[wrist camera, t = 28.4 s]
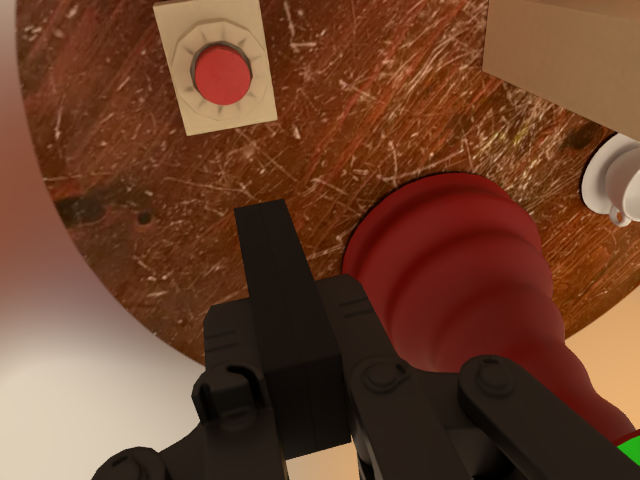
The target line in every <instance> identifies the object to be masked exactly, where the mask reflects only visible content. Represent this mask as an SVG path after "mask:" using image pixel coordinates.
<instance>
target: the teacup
mask: <svg viewBox="0 0 640 480" xmlns="http://www.w3.org/2000/svg"><path fill="white" fill-rule="evenodd" d="M582 196H583V200H584V202H585V204H586V205H587V207H588V208H590V209H591V210H592V211H594V212H596V213H600V214H609V218H610V220H611V221H612V223H614V224H615V225H617V226H621V227H624V226H627V225H628V224H629V223H630V222H631V220H633V221H638V222H640V142H638V141H636V140H634V139H631V138H629V137H627V136H625V135H623V134H620V133H618V134H617V135H615V136H614V137H612V138H611V139H610V140H608V141H607V142H606V143H605V144H604V145H603V146H602V147H601V148H600V149H599V150H598V152H597V153H596V154H595V156H594V157H593V158H592V160H591V162H590V163H589V165H588V167H587V169H586V172H585V174H584V177H583V182H582ZM617 212H621V214H622V221H621V222H619V221H618V220H617V217H616V215H617Z"/></svg>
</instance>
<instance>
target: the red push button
mask: <svg viewBox="0 0 640 480" xmlns="http://www.w3.org/2000/svg"><path fill="white" fill-rule="evenodd" d="M195 81H196V85H197V88H198V90H199V91H200V93H201V94H202V95H203V96H204V97H205V98H206V99H207V100H208V101H210V102H212V103H214V104H218V105H230V104H233V103H236V102H238V101H239V100H241V99H242V98H243V97H244V95H245V94H246V93H247V91H248V88H249V85H250V72H249V69H248V66H247V64H246V62H245V60H244V58H243V57H242V56H241V54H240V53H239V52H237V51H236V50H235V49H233V48H231V47H229V46H225V45H215V46H211V47H209V48H207V49H205V50H204V51H203V52H202V53H201V54H200V55H199V57H198V59H197V61H196V64H195Z"/></svg>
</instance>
